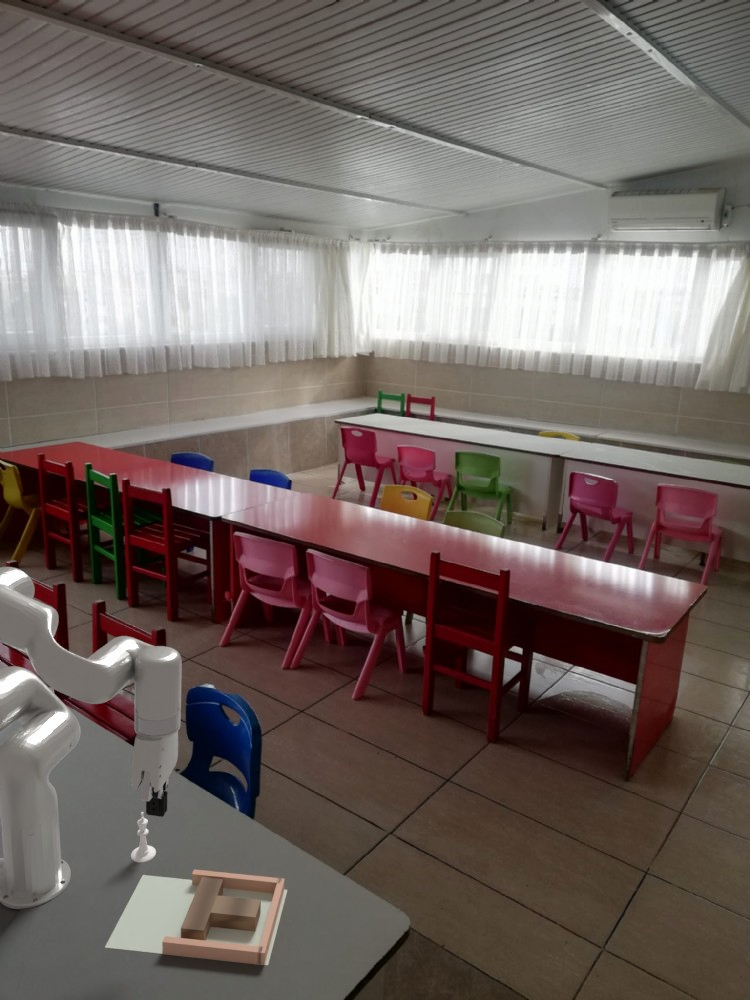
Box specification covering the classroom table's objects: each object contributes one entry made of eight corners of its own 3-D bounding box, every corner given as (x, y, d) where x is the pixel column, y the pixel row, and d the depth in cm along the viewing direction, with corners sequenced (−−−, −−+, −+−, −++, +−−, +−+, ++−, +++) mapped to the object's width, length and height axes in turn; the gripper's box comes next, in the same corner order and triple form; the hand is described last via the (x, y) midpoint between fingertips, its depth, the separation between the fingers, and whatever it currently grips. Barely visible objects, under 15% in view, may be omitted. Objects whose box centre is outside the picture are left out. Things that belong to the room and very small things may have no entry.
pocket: (162, 953, 125) (162, 941, 125) (194, 880, 142) (193, 869, 141) (264, 964, 124) (264, 953, 124) (284, 889, 141) (284, 878, 140)
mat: (104, 950, 126) (104, 947, 126) (142, 877, 143) (142, 874, 142) (268, 968, 124) (268, 965, 124) (287, 892, 141) (287, 889, 141)
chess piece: (129, 867, 145) (128, 822, 143) (130, 849, 150) (129, 806, 147) (156, 863, 146) (155, 819, 144) (156, 846, 151) (155, 803, 149)
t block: (180, 942, 128) (180, 928, 127) (202, 890, 139) (202, 877, 139) (249, 950, 127) (250, 935, 126) (265, 897, 139) (265, 883, 138)
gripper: (153, 694, 134) (152, 784, 138) (117, 740, 119) (117, 838, 124) (194, 700, 133) (191, 789, 138) (162, 746, 119) (161, 845, 123)
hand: (156, 812), depth 131 cm, fingers closed
